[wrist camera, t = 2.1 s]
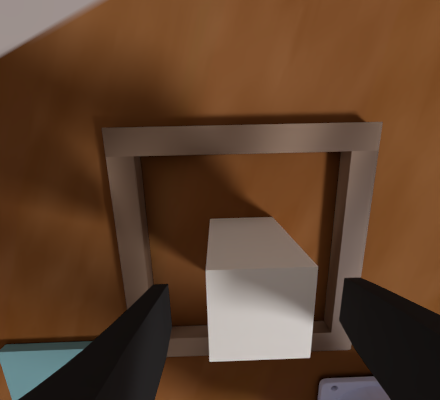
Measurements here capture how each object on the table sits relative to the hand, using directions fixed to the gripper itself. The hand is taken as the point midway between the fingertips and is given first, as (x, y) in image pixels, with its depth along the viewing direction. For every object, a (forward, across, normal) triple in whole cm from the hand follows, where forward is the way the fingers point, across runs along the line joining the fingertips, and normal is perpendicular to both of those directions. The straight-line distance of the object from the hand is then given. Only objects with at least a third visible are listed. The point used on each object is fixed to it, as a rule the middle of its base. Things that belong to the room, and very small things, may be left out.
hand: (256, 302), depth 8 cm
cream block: (+5, 0, 0) cm, 5 cm away
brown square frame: (+5, 0, 0) cm, 5 cm away
